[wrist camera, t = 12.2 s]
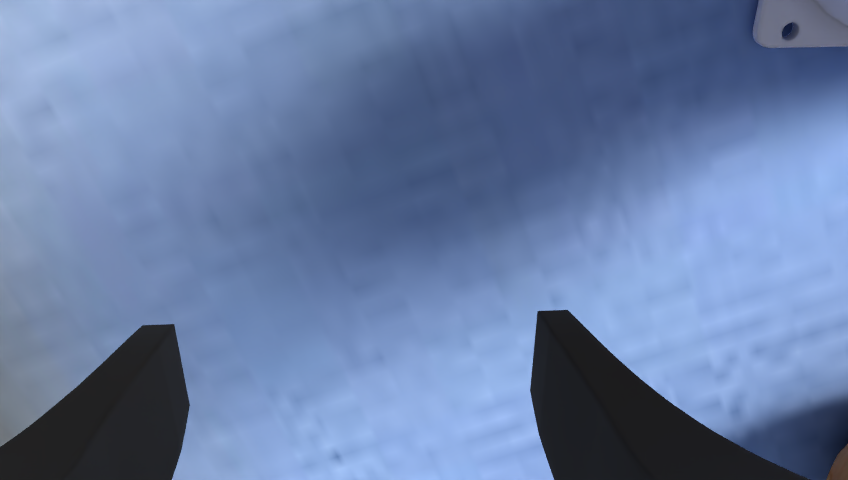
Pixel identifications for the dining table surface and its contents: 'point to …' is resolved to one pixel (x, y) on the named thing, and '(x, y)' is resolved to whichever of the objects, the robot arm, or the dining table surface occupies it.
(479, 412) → the dining table surface
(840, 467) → the onion
